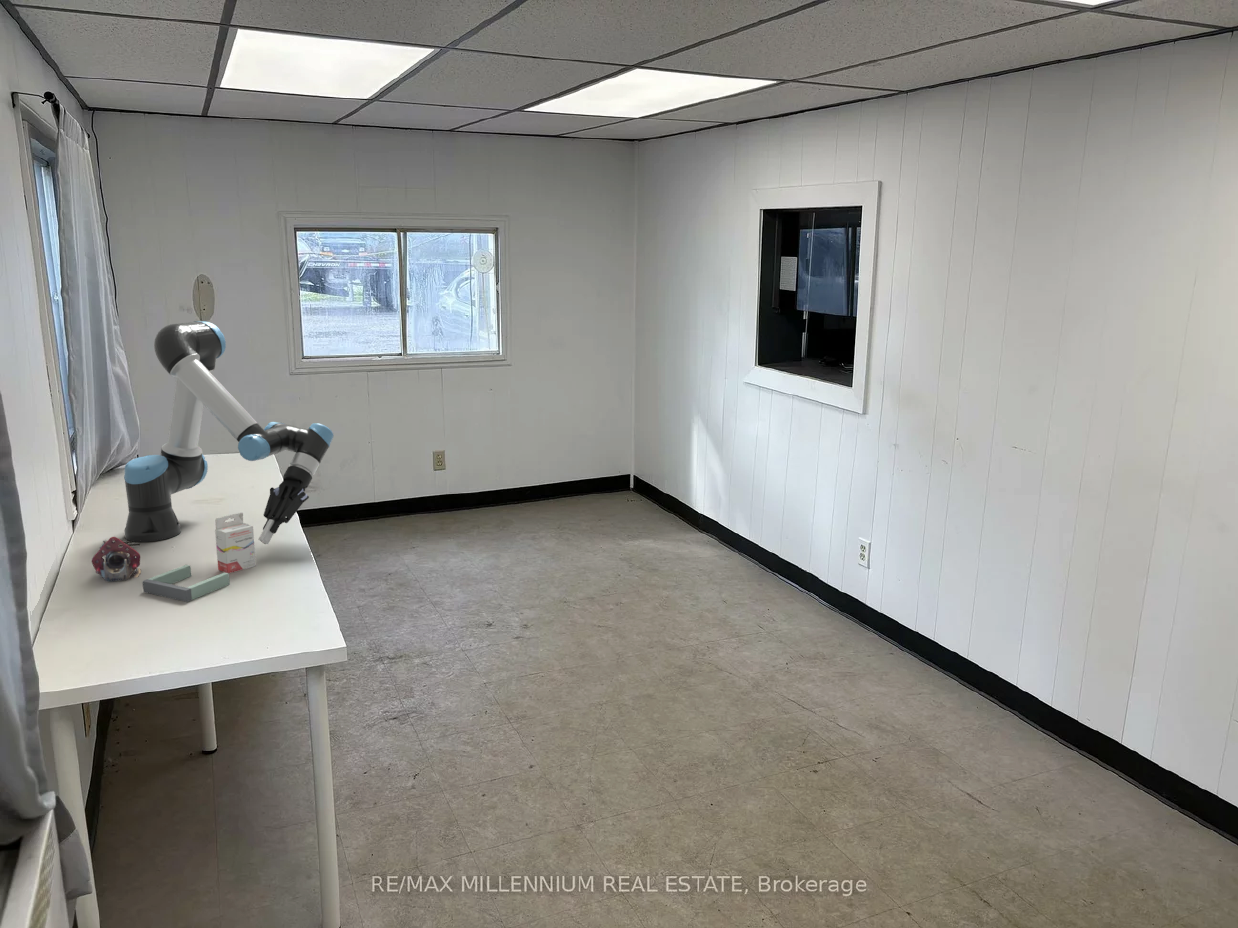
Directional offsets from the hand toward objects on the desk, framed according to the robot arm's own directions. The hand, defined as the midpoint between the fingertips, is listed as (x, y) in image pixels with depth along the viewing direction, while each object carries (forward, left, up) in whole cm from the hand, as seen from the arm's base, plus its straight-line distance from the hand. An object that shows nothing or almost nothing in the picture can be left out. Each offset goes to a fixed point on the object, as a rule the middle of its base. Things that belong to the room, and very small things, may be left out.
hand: (263, 541), depth 254 cm
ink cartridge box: (-1, -9, -5) cm, 11 cm away
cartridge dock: (-1, -25, -5) cm, 26 cm away
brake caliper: (-24, -27, -5) cm, 37 cm away
